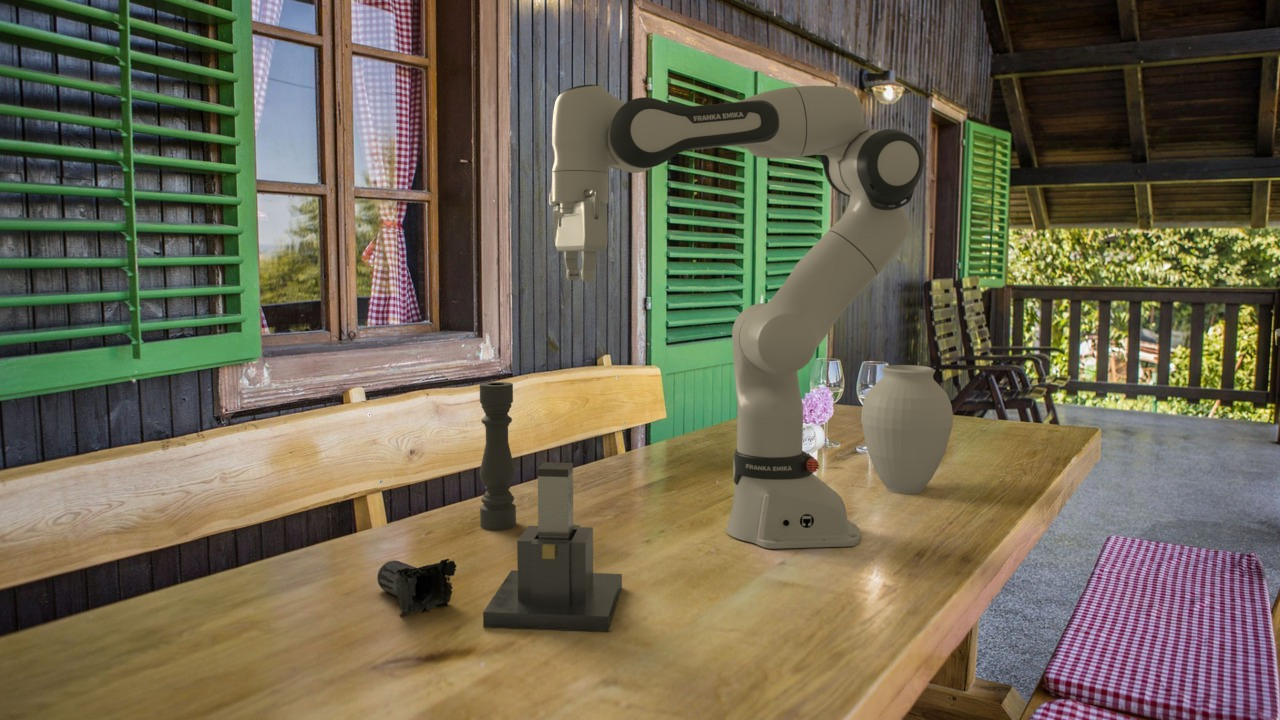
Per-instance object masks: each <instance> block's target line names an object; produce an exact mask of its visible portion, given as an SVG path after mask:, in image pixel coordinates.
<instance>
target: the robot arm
mask: <svg viewBox="0 0 1280 720" xmlns="http://www.w3.org/2000/svg"><path fill="white" fill-rule="evenodd" d="M865 122H866V121H865V120H864V110H863V106H862V102H861V100H860V98H859V97H858V95H857V94H856V93H855V92H854V91H853V90H852V89H849V88H847V87H843V86H835V85H834V86H832V85H801V86H788V87H783V88H777V89H771V90H768V91H764V92H761V93H757V94H754V95H751V96H750V97H749V96H748V97H747V98H744V99H742V100H738V101H735V102H724V103H715V104H702V105H691V106H681V105H675V104H672V103H669V102H666V101H664V100H661V99H658V98H653V97H646V96H645V97H643V96H642V97H637V98H633V99H631V100H629V101H627V102H624V101H622V100H621V99H619V98H617V97H615V95H613V94H611V93H610V92H609V91H608V90H606V88H604V86H602V85H600V84H599V85H598V84H581V85H578V86H573V87H570V88H567V89H564V91H562V92H561V93H560V94H559V95H558V96H557V98H556V99H555V103H554V108H553V112H552V127H551V146H552V149H553V152H554V153H553V154H554V161H553V166H552V170H551V190H550V192H549V196H548V198H549V201H548V202H549V203H548V204H549V206H551V207H553V208H552V225H553V238H554V239H553V240H554V244H555V248H556V251H557V252H563V258H564V259H563V260H564V265H565V268H566V269H565V270H566V280H568V281H578V280H579V279H580V280H581V282H585V283H592V282H594V281H595V270H596V267H597V262H598V252H605V251H607V248H608V241H609V240H608V239H609V238H608V235H609V233H608V213H607V207H606V205H608V204H609V169H610V168H612V169H616V170H620V171H624V172H625V173H626V172H627V173H633V174H637V173H638V174H639V173H643V172H644V173H645V171H646V172H647V171H649V170H651V169H652V168H654V167H658V166H659V165H662V164H664V163H665V162H667V161H668V160H670V159H672V158H673V157H675V156H677V155H679V154H680V153H683V152H687V151H694V150H702V149H712V148H723V147H740V148H744V149H746V150H747V151H748V152H749V153H750V154H752V155H753V156H755V157H757V158H762V159H792V158H801V157H808V156H815V155H816V156H819V159H820V162H821V165H822V167H823V172H824V176H825V177H826V180H827V183H828V184H829V186H831V188H832V189H834V191H836V192H837V193H839V194H841V195H843V196H846V197H849V201H848V204H847V206H846V209H845V210H844V213H843V214H842V215H841V218H840V219H839V220H838V221H837V222H835V223H834V225H832V226H831V227H830V229H828V231H826V233H825V234H824V235H823V236H822V237H821V238H820V239H819V240H818V241H817V242H816V243H815V244H814V245H813V246H812V247H811V248H810V249H809V251H807V253H805V254H804V256H803V257H802V258H801V259H800V260H799V261H798V262H797V263H796V264H795V265H794V267H793V268H792V271H791V272H790V274H789V275H788V277H787V278H786V279H785V281H784V282H783V284H782V285H781V287H780V288H779V289H778V290H777V292H776V293H775V294H774V295H773V296H772V298H771V299H770V300H769V301H768V302H767V303H766V302H763V303H762V302H761V303H755V304H752V305H750V306H748V307H746V308H745V309H743V310H742V311H741V312H740V313H739V314H738V316H737V317H736V319H735V321H734V322H733V325H732V329H731V336H732V338H731V339H732V357H733V358H732V359H733V372H734V384H735V393H736V408H737V409H736V414H737V415H736V416H737V417H736V449H735V450H734V453H733V457H732V458H733V461H732V466H733V467H732V474H733V475H732V478H733V482H734V492H733V499H732V504H731V510H730V514H729V519H728V522H727V526H726V528H725V531H726V533H727V535H730V536H731V537H732V538H734V539H738V540H740V541H745V542H747V543H753V544H754V545H755V544H756V545H757V546H760V547H762V548H764V549H769V550H770V549H774V550H775V549H776V550H777V549H801V548H803V549H804V548H808V549H809V548H832V547H833V548H834V547H835V548H837V547H854V546H856V545H858V544H859V543H860V542H861V532H860V529H859V527H858V526H857V525H856V524H855V523H854V522H852V521H851V520H848V513H847V509H846V505H845V502H844V500H843V498H842V497H841V496H840V494H839V493H837V491H835V490H834V489H833V488H831V487H830V486H829V485H828V484H826V483H825V482H824V481H823V480H822V479H820V478H819V477H818V476H817V475H815V474H814V473H816V472H817V471H818V470H819V469H820V463H819V461H818V460H817V459H816V458H814V456H812V455H811V454H810V453H809V452H805V451H804V450H803V442H804V441H803V438H804V437H803V435H804V433H803V432H804V404H803V400H802V396H801V391H800V383H799V376H798V375H799V374H798V371H799V370H802V369H803V368H804V367H806V366H807V365H808V364H809V363H810V362H811V360H812V359H813V358H814V355H815V352H816V350H817V349H818V347H819V345H821V344H822V342H823V340H825V338H826V337H827V336H828V334H829V332H830V331H831V330H832V328H833V327H834V325H835V323H837V320H839V318H840V316H841V315H842V314H843V312H845V310H846V309H847V308H848V306H849V305H850V304H852V302H853V301H855V299H856V298H857V297H858V296H859V295H860V294H861V293H862V292H863V291H864V290H865V288H867V287H868V286H869V285H870V283H871V282H873V280H874V279H875V278H877V276H878V275H879V274H880V273H881V272H882V271H883V270H884V269H885V267H886V266H887V265H888V264H889V263H890V262H891V260H893V257H894V256H895V255H896V254H897V252H898V251H899V249H900V248H901V247H902V245H903V243H904V242H905V240H906V239H907V237H908V235H909V234H910V229H911V223H910V222H911V221H910V218H909V215H908V214H907V212H906V210H905V209H904V208H903V207H905V206H906V205H907V204H909V203H910V202H911V200H912V198H913V196H914V191H915V188H916V186H917V184H918V183H919V181H920V179H921V176H922V174H923V171H924V165H925V156H924V151H923V149H922V147H921V145H920V142H918V141H917V139H915V138H914V137H913V136H912V135H910V134H908V133H906V132H905V131H902V130H898V129H893V128H892V129H891V128H887V129H870V128H869V127H868V126H867V124H866V123H865ZM904 201H905V202H904ZM902 202H903V203H902ZM579 252H581V259H582V262H581V263H582V264H581V269H579V260H578V259H579V254H580V253H579Z"/></svg>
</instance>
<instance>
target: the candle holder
mask: <svg viewBox="0 0 1280 720" xmlns="http://www.w3.org/2000/svg"><path fill="white" fill-rule="evenodd" d="M513 402H514V383H512V382H507V381H504V382H503V381H490V382H483V383H482V382H481V383H480V384H479V403H480V404H481V409H482V410H483V413H484V414H485V416H483V417H482V418H481V423H482V424H483V425H484V427H485V445H484V449H483V450H484V451H483V455H482V460H481V464H480V469H479V477H480V480H481V482H482V483H483V484H484V488H485V490H486V491H485V492H484V494H483V496H482V497H481V503H482V504H481V505H480V507H479V515H480V516H479V520H480V527H481V529H483V530H487V531H503V530H508V529H513V528H514V527H516V526H517V506H516V504H515V503H514V501H515V497H514V496H515V495H513V494H512V492H511V490H510V489H511V486H512V485H511V484H512V483H513V481H514V479H515V476H516V469H515V465H514V461H513V456H512V453H511V447H510V443H509V426H510V424H511V423H512V421H513V418H512V417H511V416H510V415H509V412H510V409H511V408H512V403H513Z"/></svg>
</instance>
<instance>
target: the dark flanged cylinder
mask: <svg viewBox="0 0 1280 720" xmlns="http://www.w3.org/2000/svg"><path fill="white" fill-rule="evenodd" d="M456 568H457V564H456V561H455V559H454V558H453V559H452V560H451V559H450V558H446V559H441V560H440V562H437V563H433V564H427V565H422V566H420V567H415V566H413V565H410V564H408V563H405V562H402V561H399V560H390V561H389V560H388V561H387V562H385V563H384V564H382V566H381V567H379V569H378V572H377V576H376V577H377V578H376V580H377V583H378V585H379V587H380V588H381V589H382V590H383V591H385V592H387V593H389V594H392V595H393V596H396V597H397V605H399V610H400V611H401V614H399V616H400V617H402V616H407V615H410V614H414V613H415V614H416V613H419V612H422V614H423V613H427V612H429V613H430V612H431V611H430V609H434V608H436V609H438V608H439V609H440V608H441V607H444V606H445V607H449V605H448V604H449V603H450V602H451V598H452V594H453V591H452V590H453V586H452V585H453V583H452V582H450V581H451V577H454V576H455V575H456V574H455V572H456V571H457V569H456Z"/></svg>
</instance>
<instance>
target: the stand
mask: <svg viewBox="0 0 1280 720" xmlns="http://www.w3.org/2000/svg"><path fill="white" fill-rule="evenodd" d="M537 532H538V525H527V527H526V528H525V530H524V531H523V533H522V534H521V535H520V536H519V538H518V539H517V541H516V543H517V544H516V548H517V550H516V554H517V557H516V558H517V561H516V562H517V570H513V569H512V570H510V572H509V573H508V575H507V576H506V578H505V579H504V581H503V582H502V583H501V585H500V586H499V588H498V589H497V591H496V592H495V594H494V595H493V596H492V598H491V600H490V601H489V602H488V604H487V606H486V607H485V608H484V610H483V612H482V615H483V616H482V620H483V621H482V622H483V623H482V625H483V626H482V627H483V628H492V629H493V628H497V629H498V628H499V629H518V630H519V629H524V630H525V629H526V630H546V631H547V630H550V631H573V632H574V631H576V632H577V631H578V632H581V631H582V632H598V633H599V632H601V633H602V632H603V633H604V632H605V633H608V632H609V631H610V627H611V623H612V621H613V618H614V614H615V611H616V607H617V605H618V601H619V598H620V594H621V592H622V588H623V574H622V573H609V572H608V573H605V572H604V573H603V572H602V573H601V572H599V573H598V572H594V527H587V526H586V527H585V526H584V527H583V526H581V524H574V529H573V538H572V540H547V539H538V536H537Z"/></svg>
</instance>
